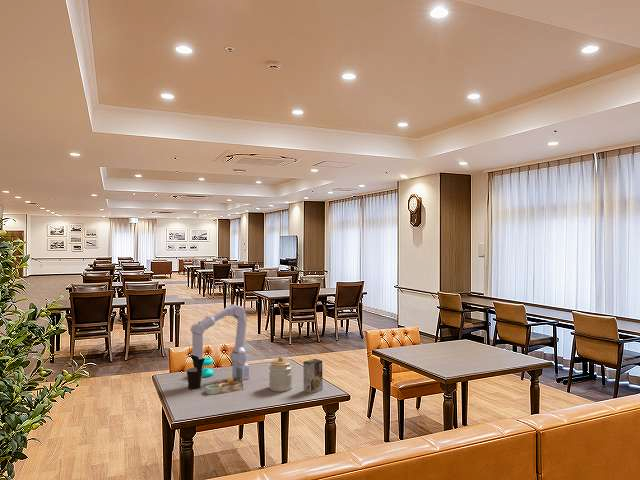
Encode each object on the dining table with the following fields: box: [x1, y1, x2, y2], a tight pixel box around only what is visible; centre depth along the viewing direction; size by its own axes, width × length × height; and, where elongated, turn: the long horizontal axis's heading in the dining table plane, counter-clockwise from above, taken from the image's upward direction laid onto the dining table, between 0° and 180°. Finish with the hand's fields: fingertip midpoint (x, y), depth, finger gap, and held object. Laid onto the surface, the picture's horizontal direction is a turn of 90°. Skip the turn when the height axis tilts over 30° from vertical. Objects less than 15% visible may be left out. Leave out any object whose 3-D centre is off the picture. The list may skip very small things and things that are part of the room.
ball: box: [227, 376, 234, 383], centre depth 255 cm, size 4×4×4 cm
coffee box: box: [302, 358, 324, 394], centre depth 253 cm, size 9×6×16 cm
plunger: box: [234, 367, 242, 382], centre depth 258 cm, size 3×5×7 cm, turn 34°
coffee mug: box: [186, 367, 203, 390], centre depth 259 cm, size 12×9×10 cm
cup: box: [204, 383, 222, 396], centre depth 249 cm, size 6×7×3 cm
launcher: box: [215, 378, 244, 394], centre depth 255 cm, size 12×9×4 cm
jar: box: [268, 356, 293, 393], centre depth 256 cm, size 13×13×18 cm
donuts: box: [201, 357, 214, 378], centre depth 281 cm, size 10×10×10 cm
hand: (197, 369), depth 259 cm, fingers open, 7 cm apart
